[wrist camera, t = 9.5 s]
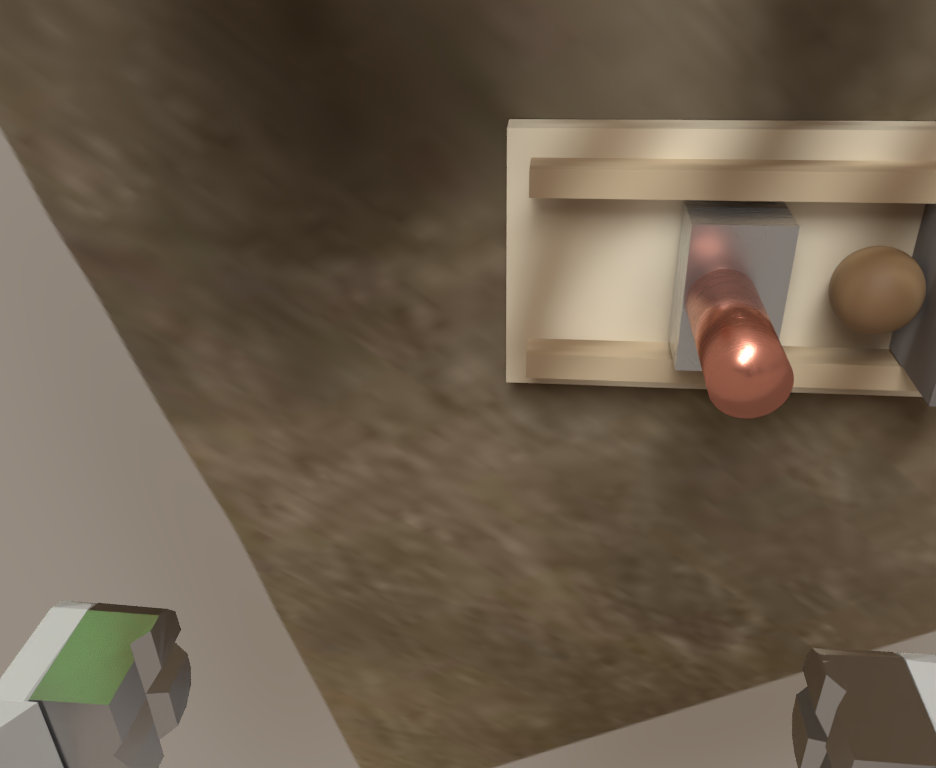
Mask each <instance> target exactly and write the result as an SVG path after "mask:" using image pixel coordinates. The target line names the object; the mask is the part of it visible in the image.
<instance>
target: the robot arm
mask: <svg viewBox="0 0 936 768" xmlns="http://www.w3.org/2000/svg"><path fill="white" fill-rule="evenodd" d="M180 631H181V628H180V625H179V622H178V618H177V615H176V612H175V611H172V610H168V609H161V608H148V607H138V606H127V605H116V604H103V603H86V602H74V601H61V602H60V603H58V604H56V605H55V606H53V607H52V608H51V609H50V610H49V611H48V613H47V614H46V615H45V617H44V618H43V620H42V621H41V623H40V624H39V625H38V627H37V628H36V630H35V631H34V632H33V634H32V635H31V636H30V638H29V639H28V641H27V642H26V643H25V645H24V646H23V647H22V649H21V650H20V652H19V653H18V654H17V656H16V657H15V659H14V660H13V661H12V663H11V664H10V666H9V667H8V669H7V670H6V671H5V673H4V674H3V675H2V677H1V678H0V768H158V767H159V765H160V763H161V761H162V759H163V756H164V755H163V751H162V748H161V744H160V741H159V740H160V739H161V738H162V737H164V736H165V735H166V734H168V733H169V732H170V731H172V730H173V729H174V728H175V727H177V726H178V724H179V722H180V720H181V717H182V715H183V713H184V710H185V708H186V705H187V700H188V696H189V691H190V686H191V667H190V663H189V658H188V655H187V653H186V652H185V651H184V650H183V649H182V648H180V647H179V646H178V645H177V644H176V643H175V641H176V638H177V637H178V634H179V633H180ZM803 672H804V675H805V678H806V682H807V685H808V686H807V687H806V688H805V689H803V690H802V691H801V692H799V693H798V694H797V695H796V699H795V704H794V709H793V714H792V737H793V745H794V752H795V757H796V761H797V765H798V768H936V655H933V654H914V653H893V652H881V651H862V650H842V649H822V648H812V649H811V650H810V651H809V653H808V654H807V656H806V660H805V663H804V667H803Z"/></svg>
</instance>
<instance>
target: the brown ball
mask: <svg viewBox="0 0 936 768" xmlns="http://www.w3.org/2000/svg"><path fill="white" fill-rule="evenodd" d="M828 295H829V302H830V305H831V308H832V310H833V312H834V314H835V315H836V316H837V317H838V319H839V320H840V321H841V322H842V323H843V324H845V325H846V326H848V327H849V328H851V329H853V330H855V331H858V332H861V333H865V334H885V333H890V332H893V331H895V330H898V329H900V328H902V327H903V326H905V325H906V324H908V323H909V322H910V321H911V320H912V319H913V318H914V317H915V316H916V315H917V314H918V312H919V311H920V309H921V307H922V305H923V302H924V299H925V295H926V281H925V277H924V274H923V271H922V269H921V268H920V266H919V265H918V263H917V262H916V261H915V260H914V259H913V258H912V257H911V256H910V255H908V254H907V253H905V252H903V251H901V250H899V249H896V248H894V247H889V246H870V247H866V248H862V249H860V250H857V251H855V252H853V253H851V254H850V255H848V256H847V257H846V258H845V259H843V260H842V261H841V262H840V264H839V265H838V266H837V267H836V269H835V270H834V272H833V274H832V276H831V279H830V283H829V289H828Z"/></svg>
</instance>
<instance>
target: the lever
mask: <svg viewBox="0 0 936 768" xmlns="http://www.w3.org/2000/svg"><path fill="white" fill-rule="evenodd" d="M799 229H800V226H799V224H798V223H797V221H796V220H795V218H794V216H793V215H792V213H791V212H790V210H789V209H788V207H787V206H786V204H785V203H784V202H783V201H712V200H683V208H682V217H681V226H680V235H679V244H678V253H677V262H676V271H675V281H674V290H673V299H672V308H671V317H670V326H669V335H668V339H669V344H670V348H671V353H672V358H673V363H674V368H675V370H686V371H702V372H703V375H704V379H705V383H706V387H707V391H708V394H709V397H710V399H711V401H712V403H713V404H714V405H715V406H716V407H717V408H718V409H719V410H720V411H722V412H723V413H725V414H727V415H729V416H732V417H736V418H743V419H749V418H757V417H761V416H764V415H767V414H769V413H771V412H773V411H774V410H776V409H777V408H779V407H780V406H781V405H782V404H783V403H784V402H785V401H786V400H787V398H788V397H789V395H790V393H791V391H792V388H793V384H794V374H793V370H792V367H791V365H790V363H789V360H788V358H787V356H786V354H785V352H784V349H783V347H782V345H781V343H780V340H779V338H780V333H781V327H782V322H783V316H784V311H785V305H786V300H787V294H788V289H789V283H790V278H791V273H792V267H793V262H794V256H795V251H796V245H797V240H798V234H799Z"/></svg>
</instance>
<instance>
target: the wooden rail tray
mask: <svg viewBox="0 0 936 768" xmlns="http://www.w3.org/2000/svg"><path fill="white" fill-rule="evenodd" d="M683 200H712V201H783V202H784V203H785V204H786V206H787V207H788V209H789V210H790V212H791V213H792V215H793V216H794V218H795V220H796V221H797V223H798V224H799V226H800V229H799V234H798V240H797V245H796V251H795V256H794V262H793V267H792V273H791V278H790V283H789V289H788V294H787V300H786V305H785V311H784V316H783V322H782V327H781V333H780V338H779V340H780V343H781V345H782V347H783V349H784V352H785V354H786V356H787V358H788V360H789V363H790V365H791V367H792V370H793V374H794V384H793V388H792V391H791V392H797V393H825V394H853V395H881V396H909V397H923V398H924V400H925V401H926V403H927V404H928V406H935V407H936V121H781V120H580V119H509V122H508V126H507V295H506V382H516V383H544V384H572V385H600V386H628V387H656V388H684V389H707V387H706V383H705V379H704V375H703V372H702V371H686V370H675V368H674V363H673V358H672V353H671V348H670V344H669V339H668V335H669V326H670V317H671V308H672V299H673V290H674V281H675V271H676V262H677V253H678V244H679V235H680V226H681V217H682V208H683ZM870 246H889V247H894V248H896V249H899V250H901V251H903V252H905V253H907V254H908V255H910V256H911V257H912V258H913V259H914V260H915V261H916V262H917V263H918V265H919V266H920V268H921V269H922V271H923V274H924V277H925V281H926V295H925V299H924V302H923V305H922V307H921V309H920V311H919V312H918V314H917V315H916V316H915V317H914V318H913V319H912V320H911V321H910V322H909V323H908V324H906V325H905V326H903V327H902V328H900V329H898V330H895V331H893V332H890V333H885V334H865V333H861V332H858V331H855V330H853V329H851V328H849V327H848V326H846V325H845V324H843V323H842V322H841V321H840V320H839V319H838V317H837V316H836V315H835V314H834V312H833V310H832V308H831V305H830V302H829V295H828V289H829V283H830V279H831V276H832V274H833V272H834V270H835V269H836V267H837V266H838V265H839V264H840V262H841V261H842V260H843V259H845V258H846V257H847V256H848V255H850V254H851V253H853V252H855V251H857V250H860V249H862V248H866V247H870Z"/></svg>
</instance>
